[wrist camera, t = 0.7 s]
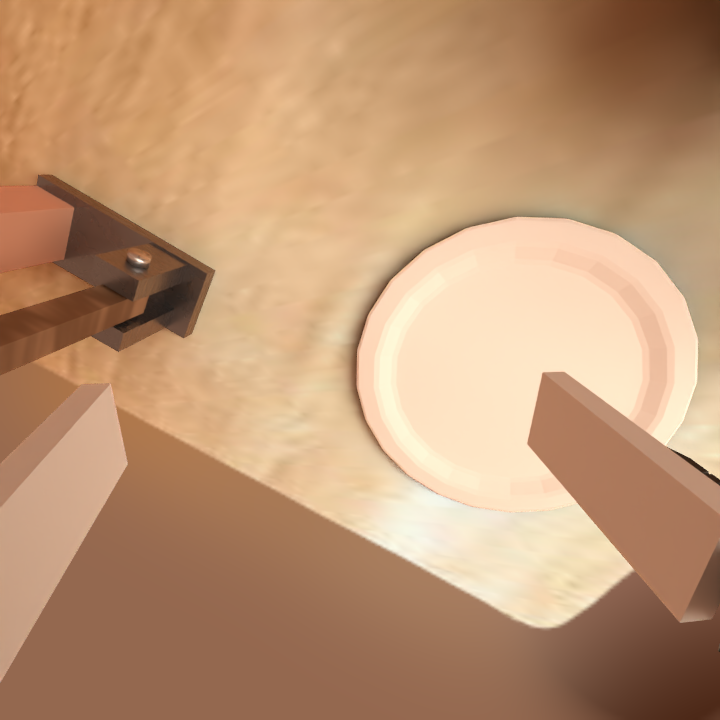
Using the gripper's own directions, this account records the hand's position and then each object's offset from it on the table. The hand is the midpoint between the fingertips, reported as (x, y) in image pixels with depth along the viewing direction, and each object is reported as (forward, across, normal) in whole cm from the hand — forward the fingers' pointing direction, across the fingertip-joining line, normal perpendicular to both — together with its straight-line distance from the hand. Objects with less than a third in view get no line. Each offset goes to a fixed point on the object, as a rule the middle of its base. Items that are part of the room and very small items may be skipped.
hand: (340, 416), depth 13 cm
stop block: (+36, -25, +2) cm, 44 cm away
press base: (+35, -18, -1) cm, 40 cm away
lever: (+29, -16, -4) cm, 33 cm away
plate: (+23, +18, -10) cm, 31 cm away
